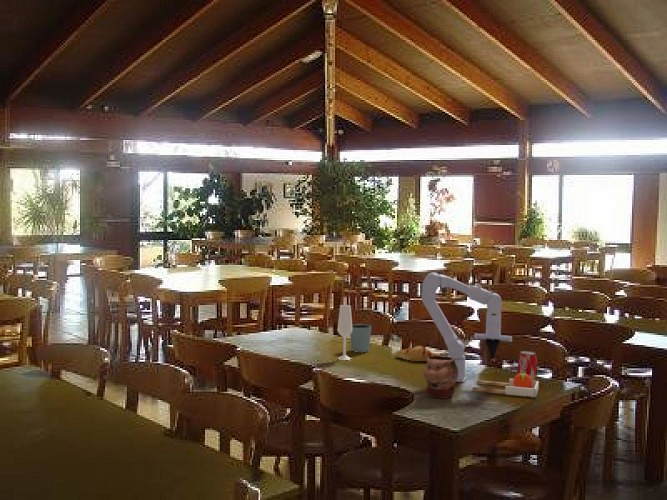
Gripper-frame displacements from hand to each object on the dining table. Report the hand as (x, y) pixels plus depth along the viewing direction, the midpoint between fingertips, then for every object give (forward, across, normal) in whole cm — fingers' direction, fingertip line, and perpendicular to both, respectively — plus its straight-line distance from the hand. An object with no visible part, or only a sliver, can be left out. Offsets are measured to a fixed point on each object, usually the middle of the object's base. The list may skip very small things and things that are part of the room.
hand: (492, 358), depth 303 cm
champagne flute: (+10, -67, +17) cm, 70 cm away
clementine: (+10, +13, -11) cm, 19 cm away
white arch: (+9, +13, -11) cm, 19 cm away
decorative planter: (+10, -15, -27) cm, 32 cm away
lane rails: (+9, +1, -11) cm, 15 cm away
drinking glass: (+10, -66, +37) cm, 76 cm away
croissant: (+10, -36, +29) cm, 48 cm away
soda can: (+10, +13, +4) cm, 16 cm away
